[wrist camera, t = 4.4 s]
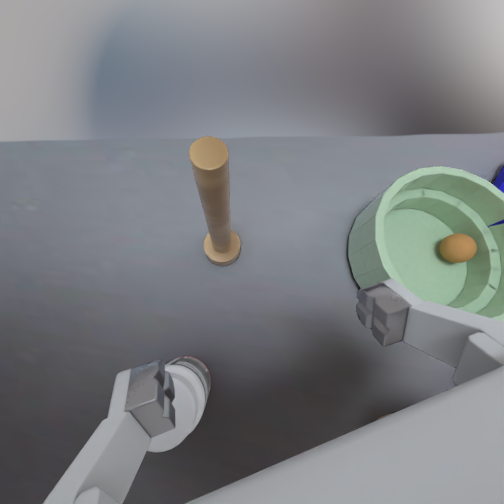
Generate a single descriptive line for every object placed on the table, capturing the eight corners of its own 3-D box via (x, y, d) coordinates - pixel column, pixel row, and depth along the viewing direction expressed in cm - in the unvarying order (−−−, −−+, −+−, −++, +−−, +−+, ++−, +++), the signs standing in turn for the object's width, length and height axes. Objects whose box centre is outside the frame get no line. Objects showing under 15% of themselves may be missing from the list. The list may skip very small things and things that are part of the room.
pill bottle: (164, 421, 22) (125, 476, 14) (153, 365, 24) (111, 386, 15) (217, 402, 23) (209, 444, 15) (204, 348, 24) (190, 360, 16)
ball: (437, 267, 27) (462, 261, 24) (428, 240, 28) (450, 231, 25) (463, 263, 28) (490, 256, 25) (453, 237, 28) (478, 227, 26)
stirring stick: (207, 268, 26) (171, 192, 11) (203, 234, 27) (165, 123, 12) (242, 263, 27) (254, 183, 12) (237, 230, 28) (241, 116, 12)
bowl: (367, 340, 25) (406, 345, 20) (331, 204, 29) (355, 175, 23) (499, 315, 27) (571, 313, 21) (449, 190, 31) (498, 159, 25)
